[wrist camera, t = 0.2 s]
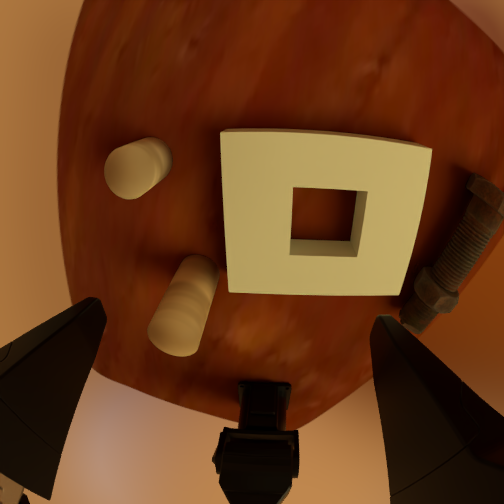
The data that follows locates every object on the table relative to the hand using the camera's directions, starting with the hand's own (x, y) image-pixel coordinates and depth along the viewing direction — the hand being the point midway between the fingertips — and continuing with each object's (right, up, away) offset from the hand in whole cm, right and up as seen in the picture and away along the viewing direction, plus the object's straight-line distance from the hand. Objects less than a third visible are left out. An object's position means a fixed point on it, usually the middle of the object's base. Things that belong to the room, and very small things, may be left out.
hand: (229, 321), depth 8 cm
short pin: (-7, +9, +12) cm, 16 cm away
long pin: (-4, 0, +16) cm, 17 cm away
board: (+6, +5, +13) cm, 15 cm away
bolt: (+18, +2, +14) cm, 23 cm away
